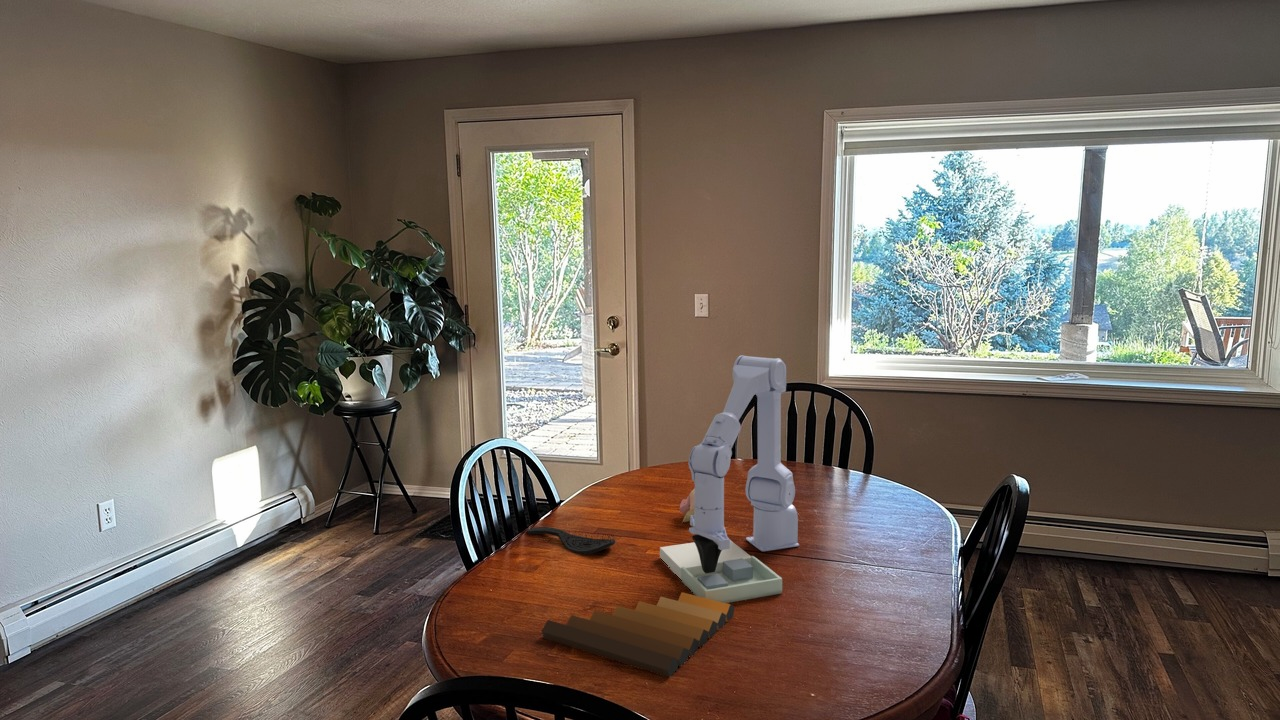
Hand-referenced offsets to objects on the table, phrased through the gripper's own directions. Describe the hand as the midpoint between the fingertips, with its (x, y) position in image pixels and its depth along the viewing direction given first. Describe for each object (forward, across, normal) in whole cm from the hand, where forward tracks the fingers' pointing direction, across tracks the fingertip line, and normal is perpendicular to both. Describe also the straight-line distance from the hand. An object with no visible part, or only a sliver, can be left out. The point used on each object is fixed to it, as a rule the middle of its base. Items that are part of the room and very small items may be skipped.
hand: (708, 571), depth 158 cm
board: (+3, -11, +4) cm, 12 cm away
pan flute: (+4, +11, -18) cm, 21 cm away
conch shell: (+3, -36, +13) cm, 38 cm away
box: (+3, +2, +4) cm, 5 cm away
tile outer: (0, +3, -1) cm, 3 cm away
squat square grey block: (+3, -2, +7) cm, 8 cm away
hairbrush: (+4, -33, -20) cm, 39 cm away
